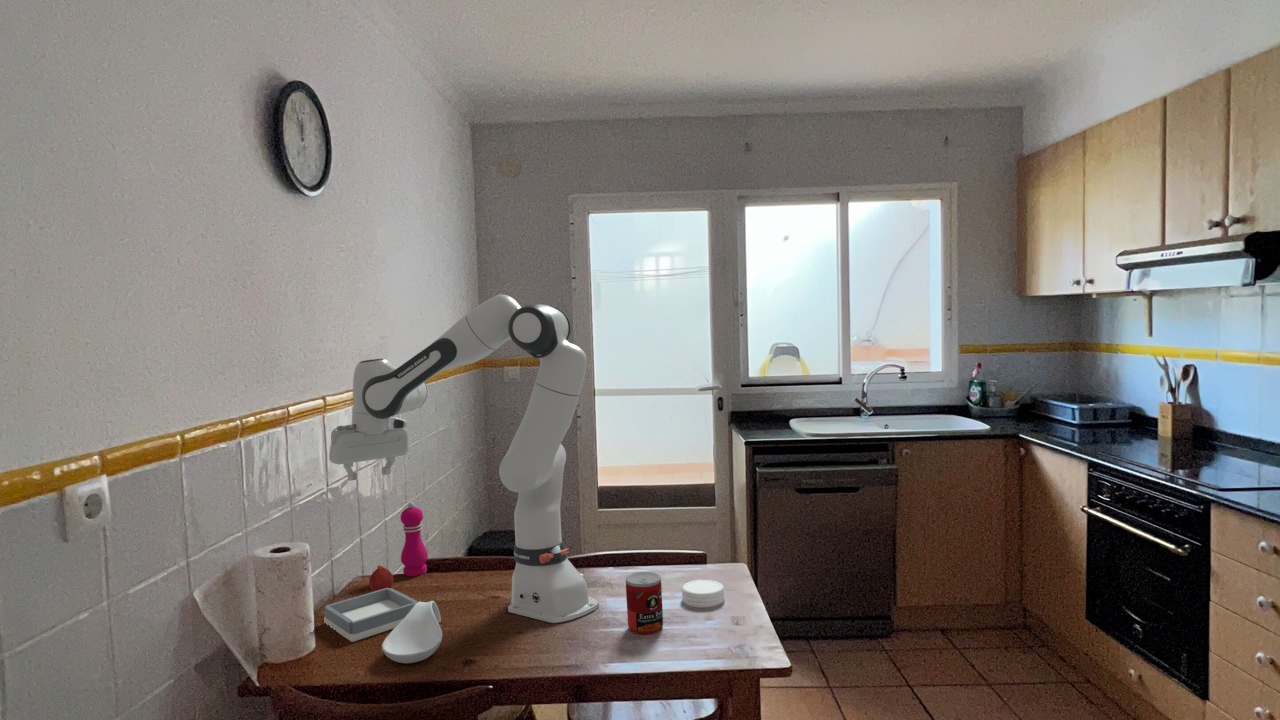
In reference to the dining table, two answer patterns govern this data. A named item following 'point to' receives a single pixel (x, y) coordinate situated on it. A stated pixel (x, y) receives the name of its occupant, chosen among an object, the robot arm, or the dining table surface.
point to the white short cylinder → (703, 593)
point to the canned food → (644, 603)
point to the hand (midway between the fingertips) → (369, 477)
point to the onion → (381, 579)
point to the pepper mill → (413, 542)
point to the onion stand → (368, 613)
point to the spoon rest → (415, 635)
